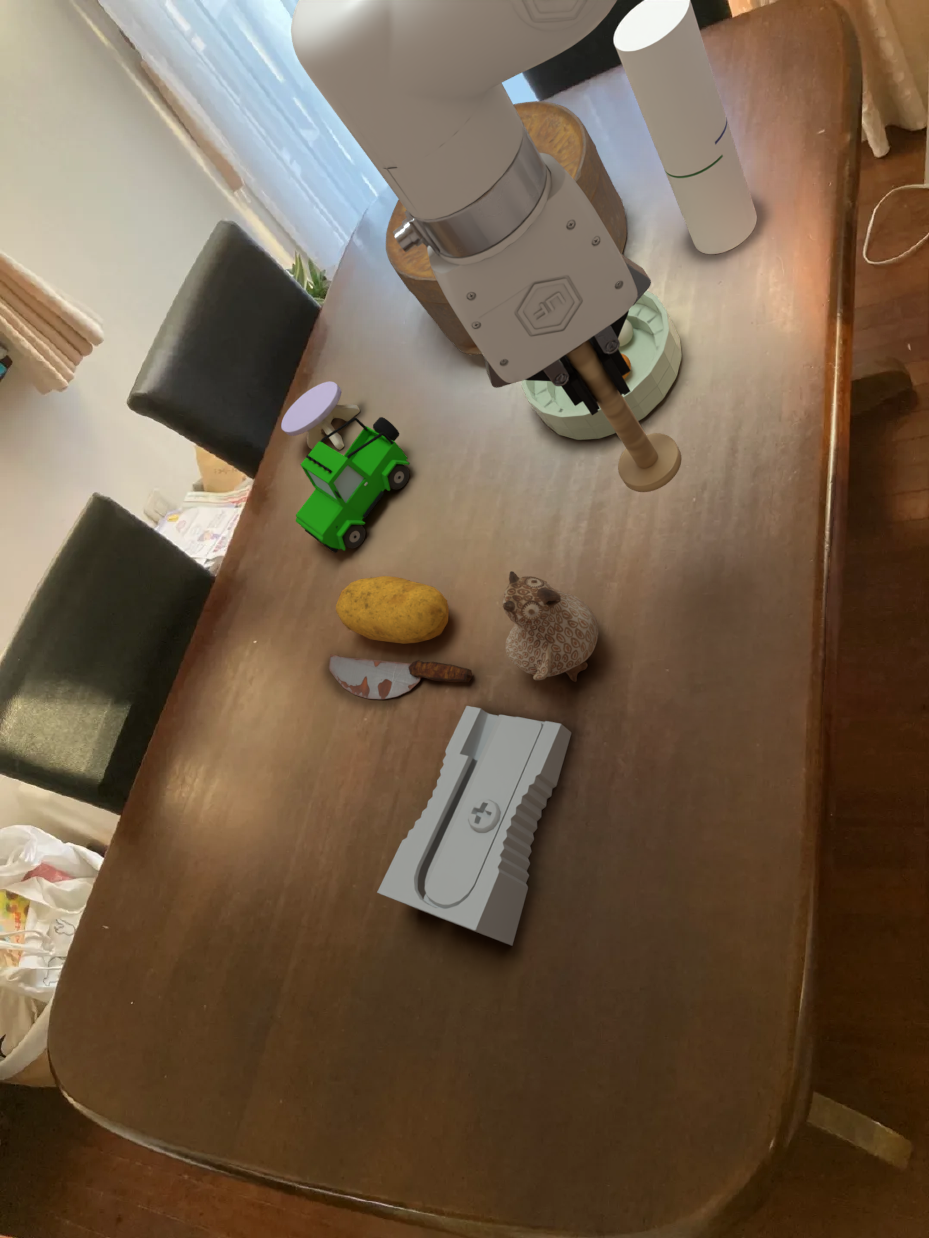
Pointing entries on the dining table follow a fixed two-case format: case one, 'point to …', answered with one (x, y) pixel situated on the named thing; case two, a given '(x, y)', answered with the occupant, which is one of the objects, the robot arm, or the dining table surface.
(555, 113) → the container
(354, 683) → the kitchen knife
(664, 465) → the wooden peg stand
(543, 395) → the bowl
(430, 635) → the potato
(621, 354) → the orange ball
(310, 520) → the toy car
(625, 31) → the cylindrical container
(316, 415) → the toy table
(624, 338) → the cream ball
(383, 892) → the wedge sharpener
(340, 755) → the dining table surface
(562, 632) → the figurine
